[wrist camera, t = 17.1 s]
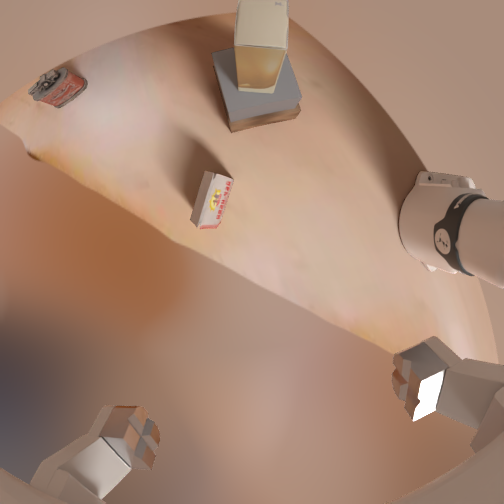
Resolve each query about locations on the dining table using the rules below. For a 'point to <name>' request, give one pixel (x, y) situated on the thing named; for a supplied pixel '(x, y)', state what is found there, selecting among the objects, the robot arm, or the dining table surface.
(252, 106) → the tower top block
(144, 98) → the dining table surface
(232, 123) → the tower base block
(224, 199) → the white red printed carton
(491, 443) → the robot arm
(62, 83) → the lighter
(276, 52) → the skincare box
